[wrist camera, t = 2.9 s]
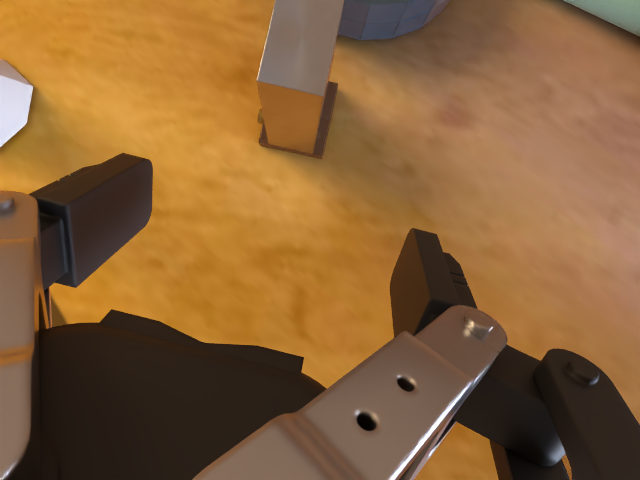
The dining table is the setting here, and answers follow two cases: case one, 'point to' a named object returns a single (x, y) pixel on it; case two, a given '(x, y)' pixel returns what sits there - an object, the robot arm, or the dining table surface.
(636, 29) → the mint green cone
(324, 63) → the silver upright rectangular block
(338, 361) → the dining table surface
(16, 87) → the flask
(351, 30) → the bowl
